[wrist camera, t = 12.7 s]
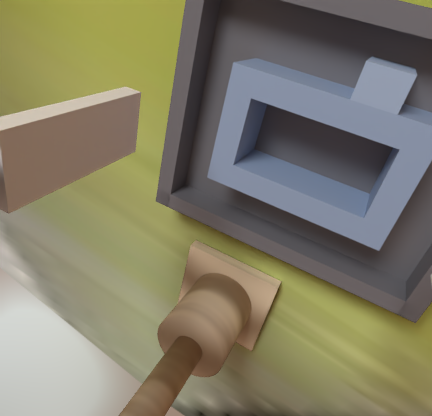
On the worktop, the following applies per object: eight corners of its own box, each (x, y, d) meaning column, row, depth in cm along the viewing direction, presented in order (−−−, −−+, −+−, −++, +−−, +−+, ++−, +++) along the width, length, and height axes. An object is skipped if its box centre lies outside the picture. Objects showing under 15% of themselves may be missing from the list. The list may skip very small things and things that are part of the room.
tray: (215, -40, 19) (193, -48, 17) (590, 49, 14) (619, 52, 12) (175, 187, 26) (155, 201, 24) (414, 295, 22) (415, 322, 20)
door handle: (196, 239, 27) (43, 391, 16) (281, 281, 26) (177, 487, 14) (181, 303, 31) (48, 464, 20) (254, 343, 29) (155, 547, 18)
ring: (229, 160, 23) (207, 177, 20) (264, 25, 19) (241, 25, 16) (382, 222, 20) (378, 250, 18) (461, 81, 16) (471, 91, 13)
